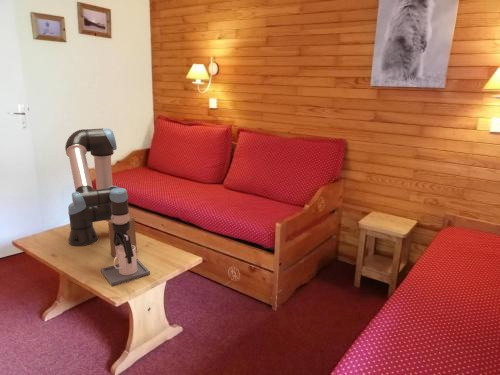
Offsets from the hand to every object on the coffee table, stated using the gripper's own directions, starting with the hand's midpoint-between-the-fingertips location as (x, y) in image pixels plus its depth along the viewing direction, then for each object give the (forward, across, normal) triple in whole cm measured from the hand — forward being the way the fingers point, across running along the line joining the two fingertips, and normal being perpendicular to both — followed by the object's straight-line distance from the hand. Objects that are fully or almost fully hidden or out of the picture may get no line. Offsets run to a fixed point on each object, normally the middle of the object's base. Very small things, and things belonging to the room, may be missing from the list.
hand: (124, 263), depth 177 cm
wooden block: (+6, -21, +7) cm, 22 cm away
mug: (+5, +1, 0) cm, 5 cm away
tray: (+5, 0, 0) cm, 5 cm away
